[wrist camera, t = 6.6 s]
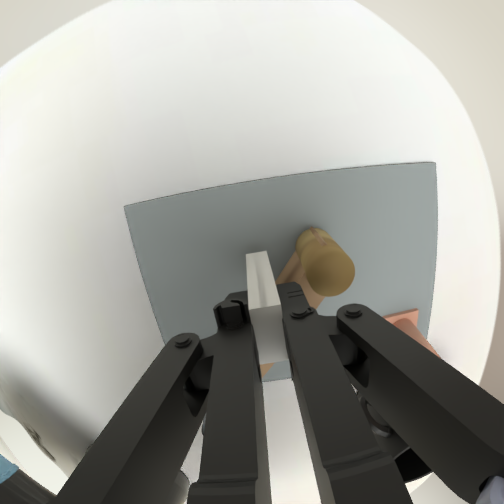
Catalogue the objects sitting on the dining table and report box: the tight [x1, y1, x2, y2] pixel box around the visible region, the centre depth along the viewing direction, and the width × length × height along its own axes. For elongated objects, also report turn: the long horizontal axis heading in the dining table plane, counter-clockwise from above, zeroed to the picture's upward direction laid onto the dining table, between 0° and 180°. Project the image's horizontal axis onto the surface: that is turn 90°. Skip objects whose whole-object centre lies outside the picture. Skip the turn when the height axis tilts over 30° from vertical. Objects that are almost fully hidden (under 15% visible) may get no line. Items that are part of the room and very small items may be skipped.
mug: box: [357, 392, 433, 483], centre depth 20 cm, size 9×12×9 cm
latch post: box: [382, 308, 440, 357], centre depth 18 cm, size 3×3×8 cm
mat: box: [124, 162, 438, 382], centre depth 21 cm, size 22×16×1 cm
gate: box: [260, 226, 355, 378], centre depth 17 cm, size 10×2×4 cm, turn 150°
